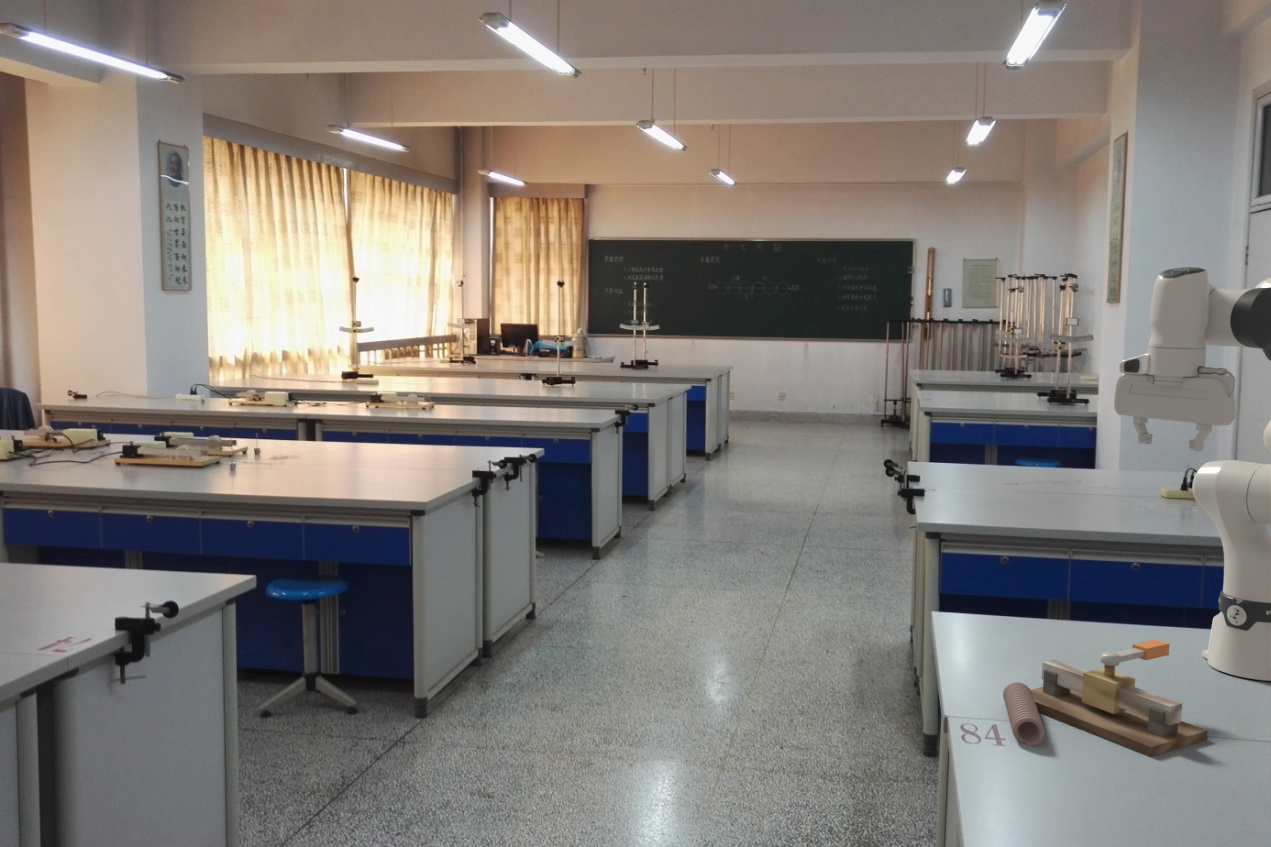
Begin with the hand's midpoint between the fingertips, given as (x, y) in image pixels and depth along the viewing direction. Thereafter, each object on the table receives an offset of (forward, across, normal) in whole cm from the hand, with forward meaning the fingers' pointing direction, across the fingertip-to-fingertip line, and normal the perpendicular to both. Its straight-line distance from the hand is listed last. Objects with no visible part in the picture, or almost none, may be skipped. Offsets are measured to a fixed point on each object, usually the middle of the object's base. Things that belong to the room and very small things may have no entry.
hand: (1169, 447), depth 186 cm
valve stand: (+44, -2, +15) cm, 47 cm away
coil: (+45, +3, +29) cm, 54 cm away
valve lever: (+35, -2, +9) cm, 36 cm away
